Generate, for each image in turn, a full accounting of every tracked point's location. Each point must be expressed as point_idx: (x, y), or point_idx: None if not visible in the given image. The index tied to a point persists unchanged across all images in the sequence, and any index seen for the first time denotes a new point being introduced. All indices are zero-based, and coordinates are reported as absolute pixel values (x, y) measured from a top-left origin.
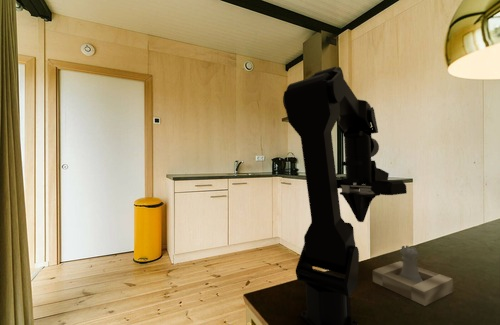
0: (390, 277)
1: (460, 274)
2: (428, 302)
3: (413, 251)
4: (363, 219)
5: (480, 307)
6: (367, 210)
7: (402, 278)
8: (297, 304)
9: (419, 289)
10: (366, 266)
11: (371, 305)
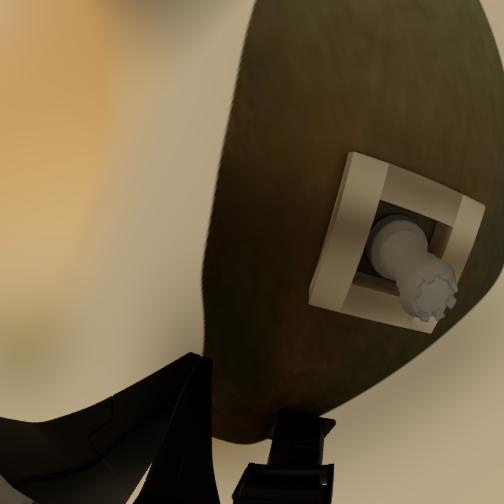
0: (362, 317)
1: (458, 63)
2: None
3: (445, 302)
4: (211, 375)
5: (496, 242)
6: (211, 423)
7: (389, 301)
8: (245, 421)
9: (423, 330)
10: (248, 191)
11: (337, 374)
